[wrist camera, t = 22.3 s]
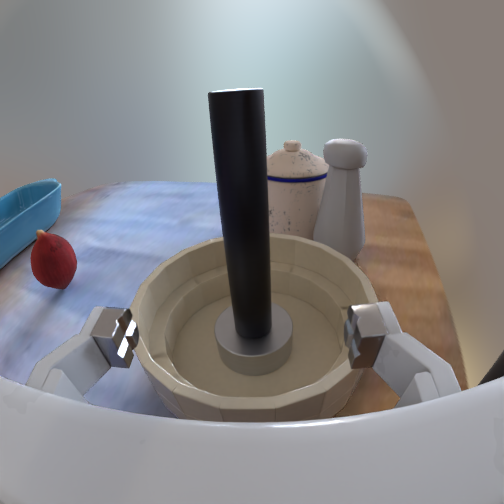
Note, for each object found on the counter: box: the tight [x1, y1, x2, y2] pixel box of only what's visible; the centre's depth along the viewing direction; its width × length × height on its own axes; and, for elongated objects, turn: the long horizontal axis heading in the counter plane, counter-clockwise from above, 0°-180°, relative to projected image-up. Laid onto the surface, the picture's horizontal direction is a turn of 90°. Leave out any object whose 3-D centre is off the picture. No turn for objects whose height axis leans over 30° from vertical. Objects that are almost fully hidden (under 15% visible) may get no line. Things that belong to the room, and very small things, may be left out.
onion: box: [31, 230, 77, 289], centre depth 28 cm, size 6×6×8 cm
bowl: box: [130, 233, 379, 422], centre depth 21 cm, size 16×16×6 cm
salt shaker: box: [313, 139, 367, 261], centre depth 29 cm, size 6×6×13 cm
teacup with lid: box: [267, 140, 329, 241], centre depth 35 cm, size 12×9×12 cm
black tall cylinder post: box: [208, 88, 293, 376], centre depth 17 cm, size 6×6×18 cm
